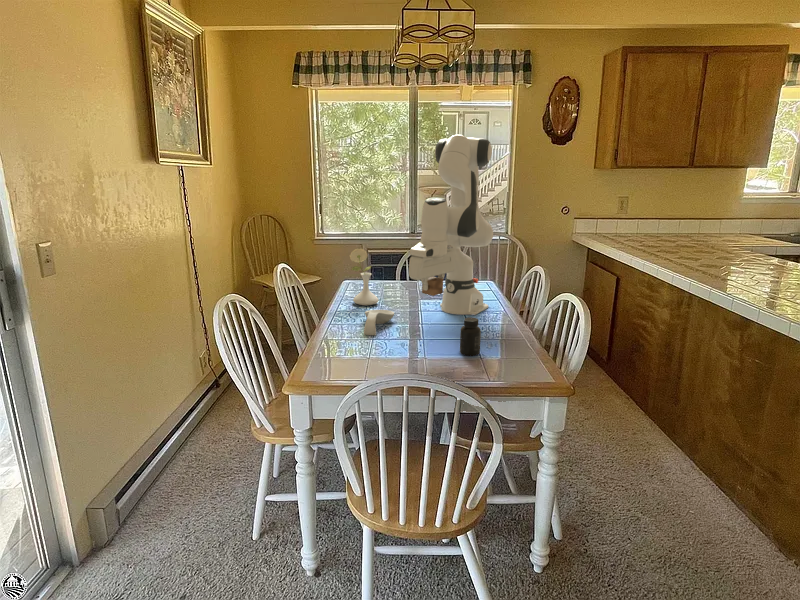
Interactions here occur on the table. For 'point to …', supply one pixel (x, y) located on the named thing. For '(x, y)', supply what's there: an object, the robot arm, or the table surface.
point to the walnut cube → (434, 286)
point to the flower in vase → (365, 295)
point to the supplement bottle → (470, 337)
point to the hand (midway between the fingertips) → (432, 288)
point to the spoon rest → (376, 320)
